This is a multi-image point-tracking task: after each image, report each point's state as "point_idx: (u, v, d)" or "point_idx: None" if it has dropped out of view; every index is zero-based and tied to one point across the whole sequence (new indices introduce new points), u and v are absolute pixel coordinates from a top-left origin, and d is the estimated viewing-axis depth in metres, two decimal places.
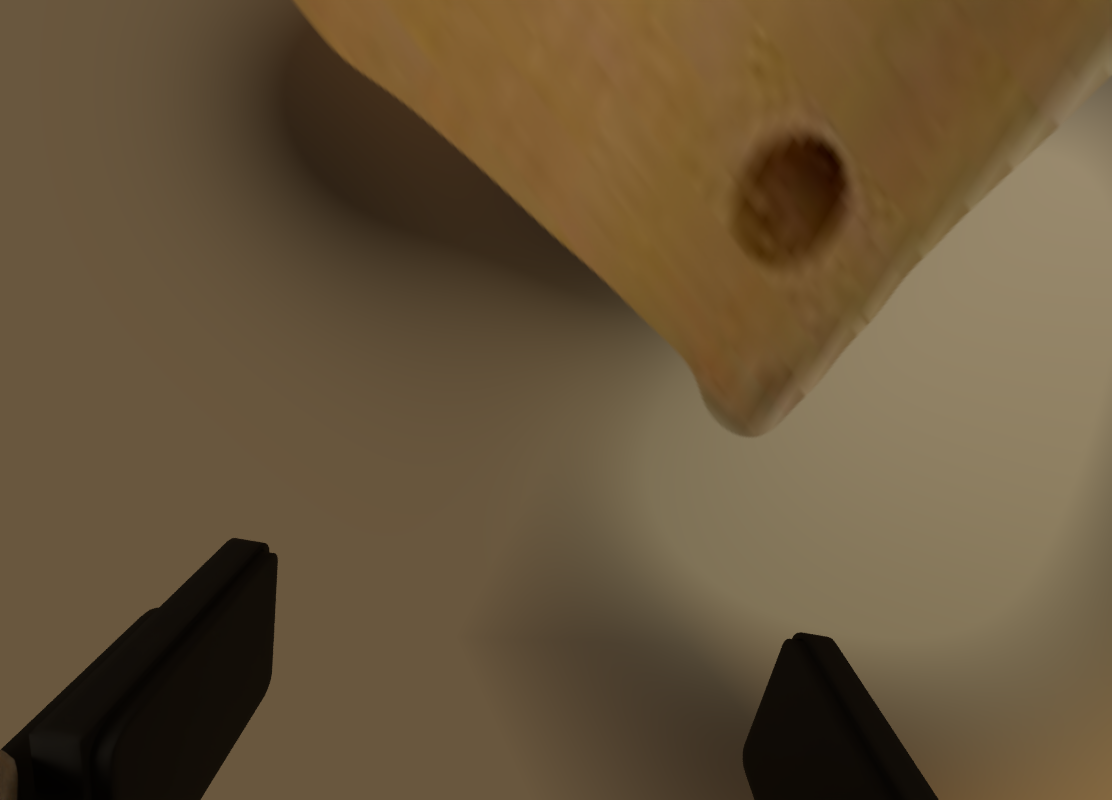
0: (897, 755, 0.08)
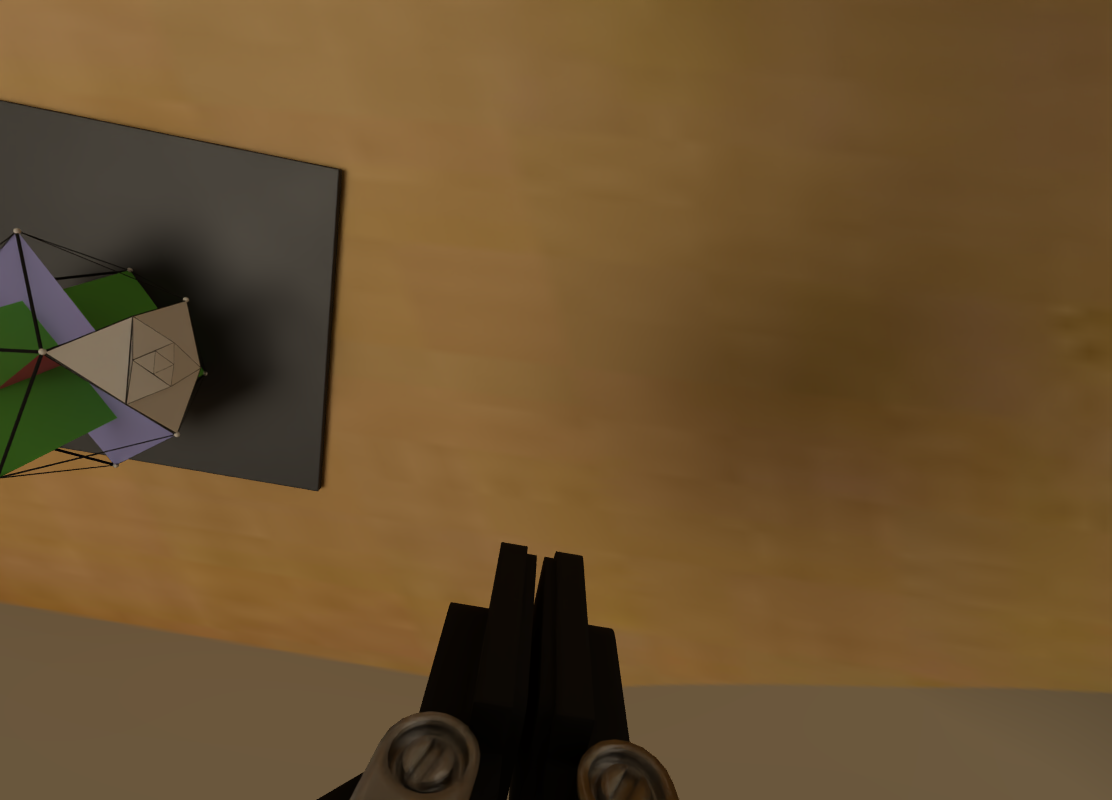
0: (575, 638, 0.09)
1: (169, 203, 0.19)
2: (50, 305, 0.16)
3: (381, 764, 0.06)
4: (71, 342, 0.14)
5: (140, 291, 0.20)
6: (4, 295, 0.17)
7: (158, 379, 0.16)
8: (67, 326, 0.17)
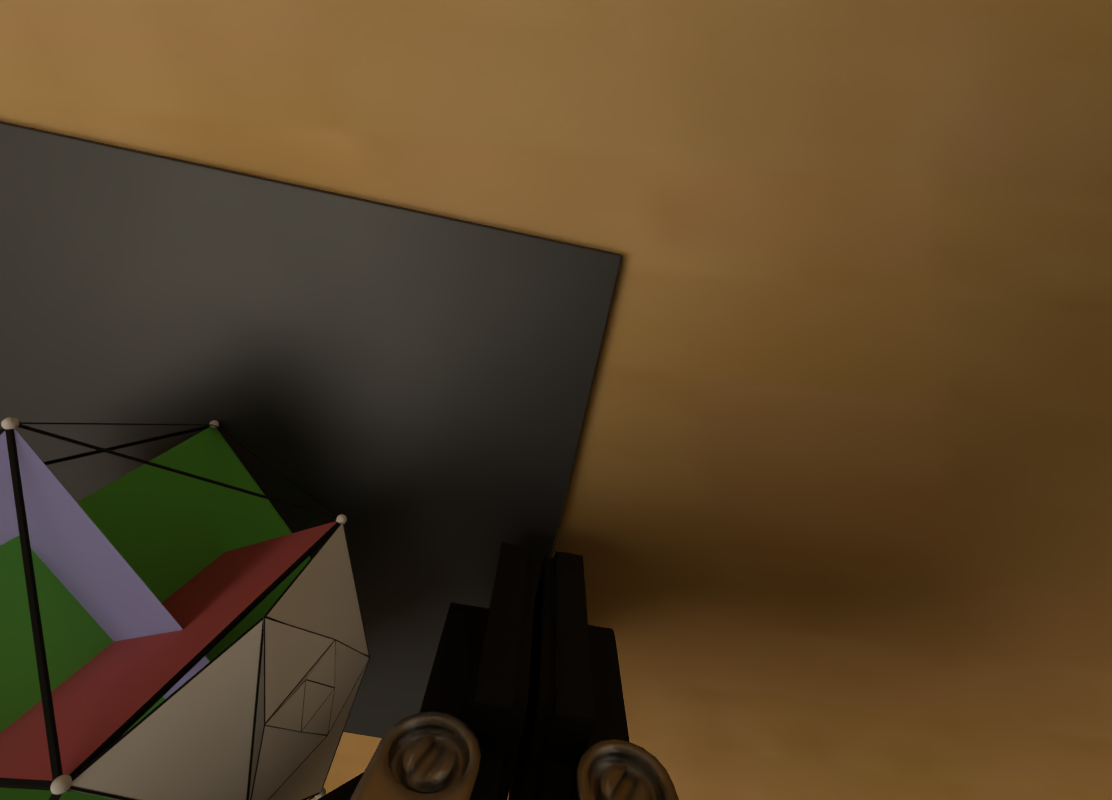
0: (575, 638, 0.09)
1: (302, 311, 0.10)
2: (77, 555, 0.08)
3: (381, 764, 0.06)
4: (133, 734, 0.06)
5: (232, 462, 0.11)
6: None
7: (307, 736, 0.07)
8: (110, 593, 0.08)
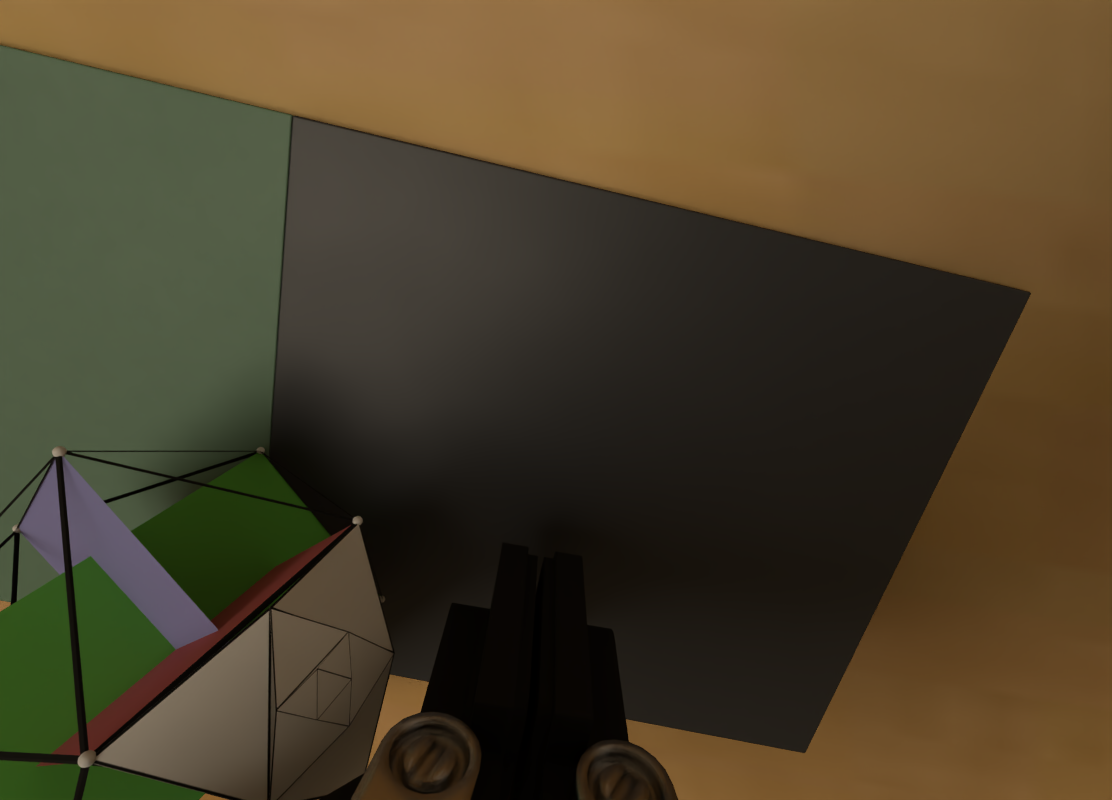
0: (574, 638, 0.09)
1: (717, 337, 0.11)
2: (131, 568, 0.09)
3: (382, 765, 0.06)
4: (149, 714, 0.06)
5: (279, 483, 0.12)
6: None
7: (325, 725, 0.08)
8: (161, 602, 0.09)
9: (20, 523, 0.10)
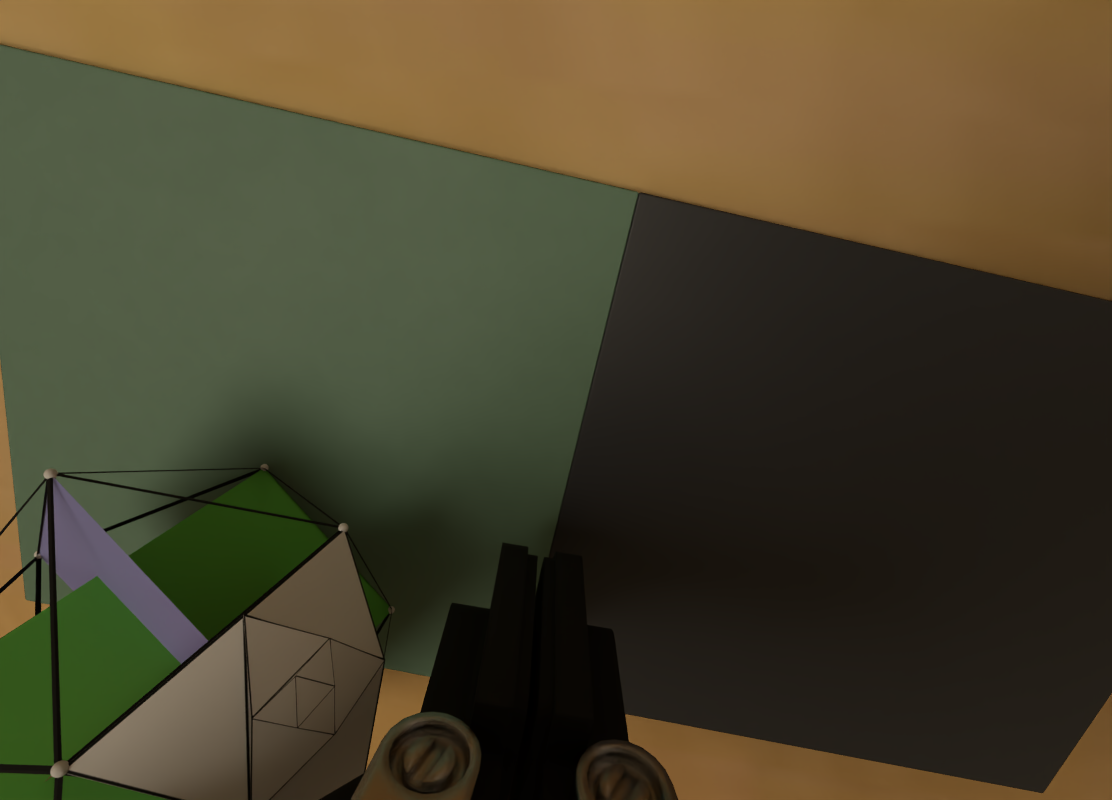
0: (575, 638, 0.09)
1: (1023, 399, 0.11)
2: (129, 585, 0.09)
3: (382, 764, 0.06)
4: (121, 724, 0.06)
5: (283, 498, 0.12)
6: (76, 566, 0.10)
7: (308, 733, 0.08)
8: (160, 617, 0.09)
9: (39, 549, 0.11)
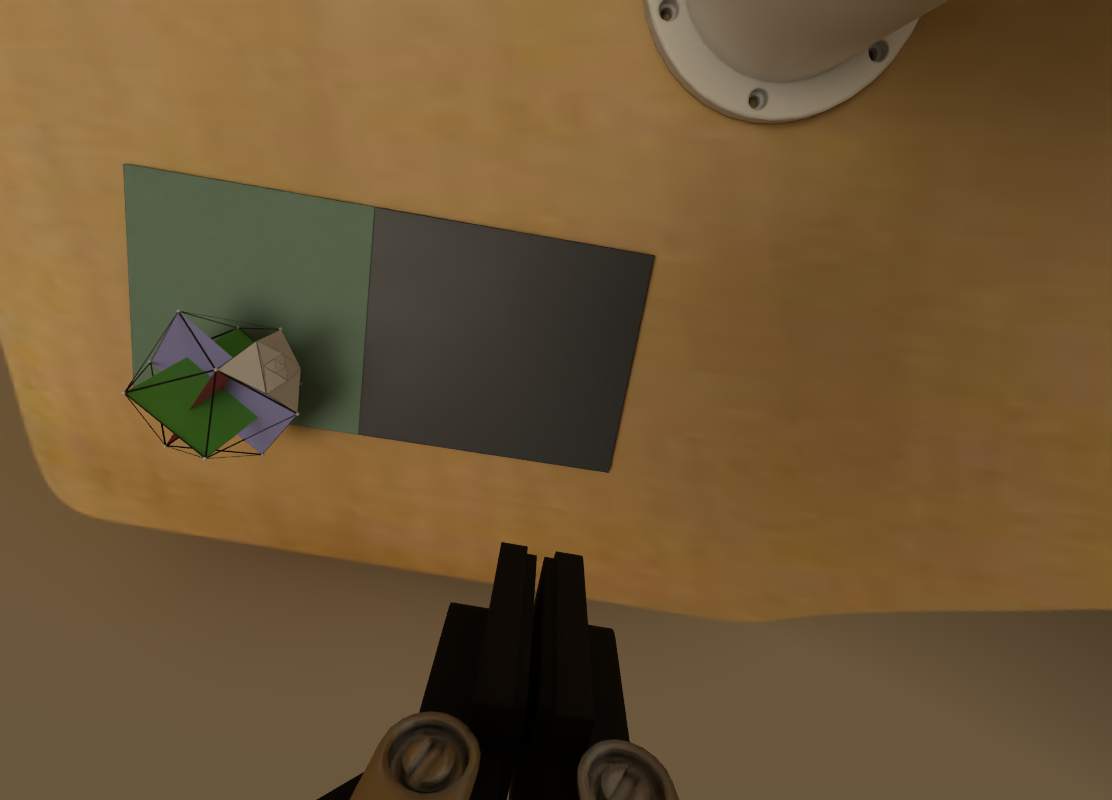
0: (575, 638, 0.09)
1: (539, 280, 0.29)
2: None
3: (381, 764, 0.06)
4: (229, 361, 0.24)
5: (248, 339, 0.29)
6: (175, 357, 0.27)
7: (279, 376, 0.25)
8: (217, 363, 0.26)
9: (152, 358, 0.27)
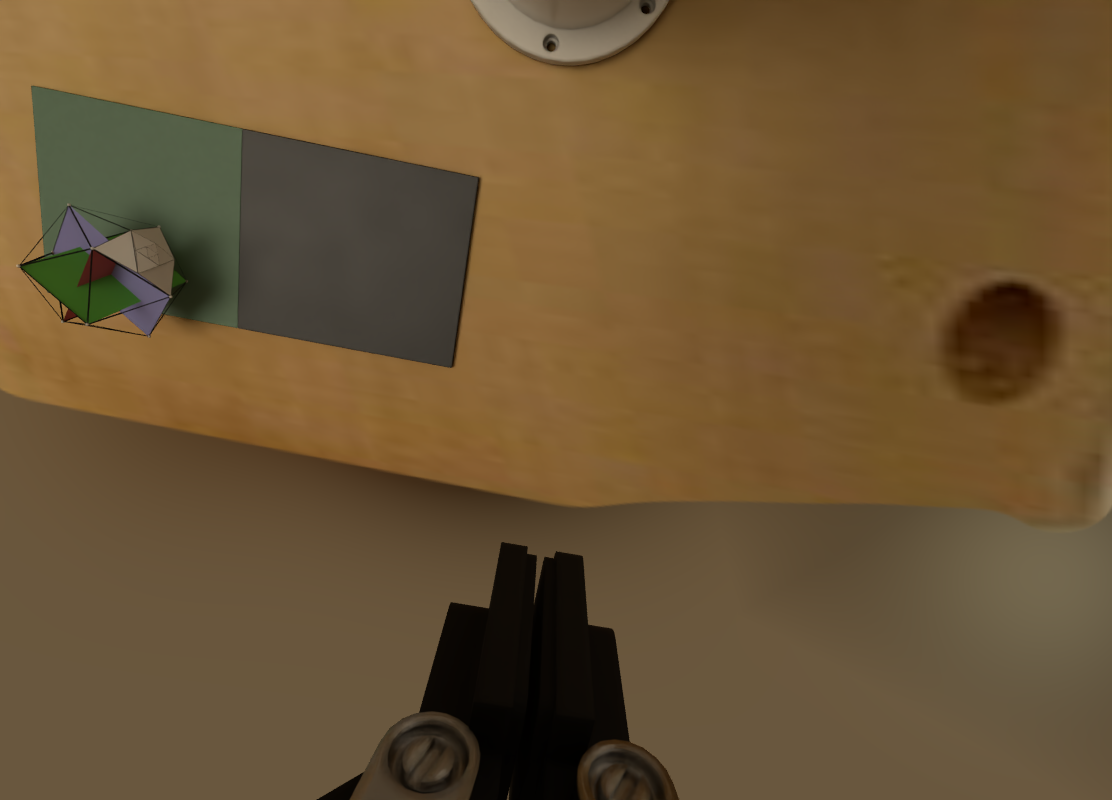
0: (575, 638, 0.09)
1: (383, 196, 0.34)
2: (93, 242, 0.32)
3: (381, 764, 0.06)
4: (104, 243, 0.30)
5: None
6: (71, 247, 0.32)
7: (151, 261, 0.31)
8: None
9: None
